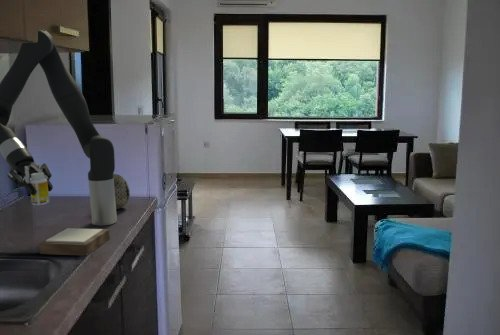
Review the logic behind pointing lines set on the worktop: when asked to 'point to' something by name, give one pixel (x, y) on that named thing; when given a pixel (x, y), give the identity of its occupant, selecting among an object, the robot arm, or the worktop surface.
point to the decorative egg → (121, 191)
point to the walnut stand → (74, 241)
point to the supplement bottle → (39, 189)
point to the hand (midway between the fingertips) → (43, 191)
